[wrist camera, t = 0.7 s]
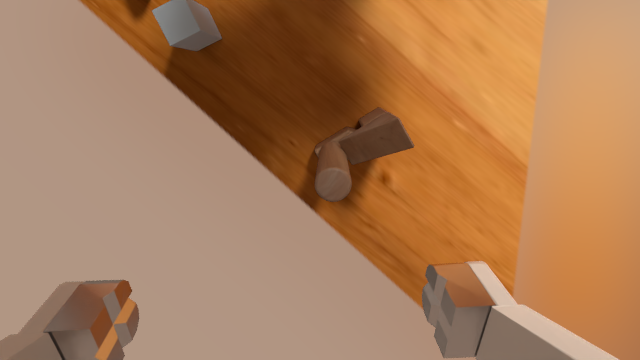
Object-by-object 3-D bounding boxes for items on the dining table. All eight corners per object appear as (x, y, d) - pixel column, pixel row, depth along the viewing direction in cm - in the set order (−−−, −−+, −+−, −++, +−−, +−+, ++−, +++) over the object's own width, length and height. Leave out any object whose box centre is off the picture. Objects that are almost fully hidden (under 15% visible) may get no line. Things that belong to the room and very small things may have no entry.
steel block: (181, 22, 46) (151, 10, 38) (208, 8, 45) (182, -6, 37) (196, 51, 47) (170, 45, 39) (222, 38, 46) (200, 30, 38)
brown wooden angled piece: (391, 128, 49) (425, 155, 31) (327, 166, 51) (326, 211, 33) (379, 105, 48) (406, 120, 31) (314, 145, 50) (305, 180, 32)
